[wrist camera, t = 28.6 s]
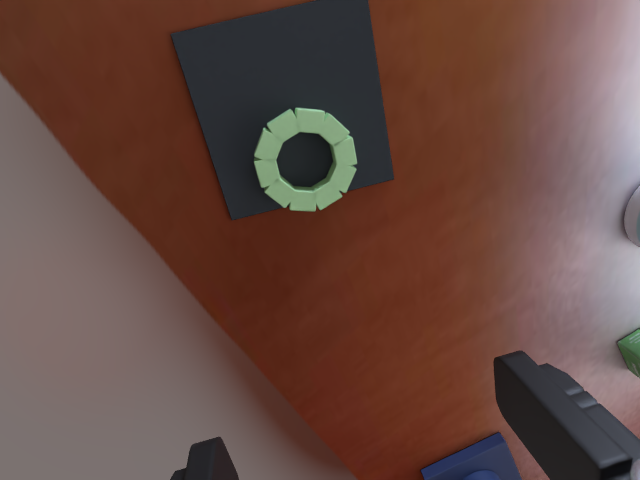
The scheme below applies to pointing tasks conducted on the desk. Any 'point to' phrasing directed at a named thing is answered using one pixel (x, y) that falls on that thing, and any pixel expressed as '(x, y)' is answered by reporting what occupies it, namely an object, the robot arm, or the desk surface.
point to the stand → (476, 463)
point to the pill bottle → (633, 218)
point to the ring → (339, 169)
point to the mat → (286, 94)
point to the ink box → (631, 351)
